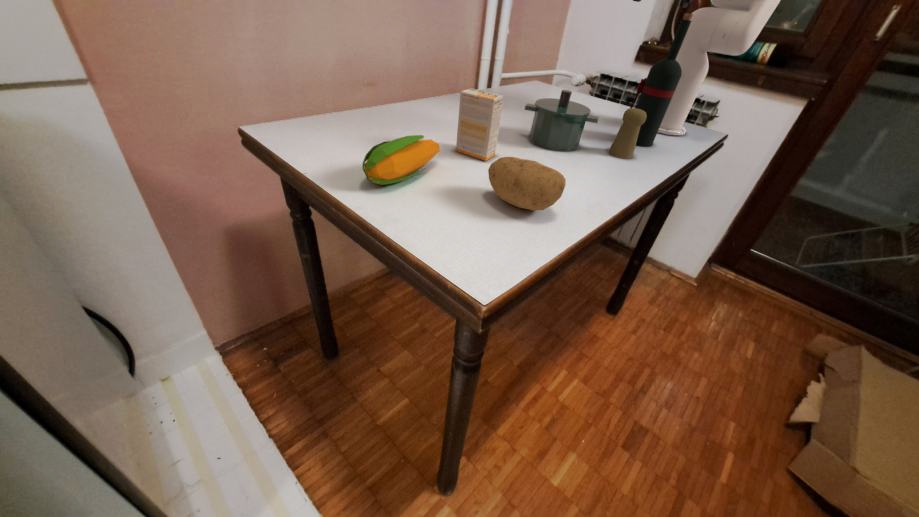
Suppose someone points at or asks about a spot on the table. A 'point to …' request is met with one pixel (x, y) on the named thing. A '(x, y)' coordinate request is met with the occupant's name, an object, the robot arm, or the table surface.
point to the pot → (557, 129)
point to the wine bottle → (660, 87)
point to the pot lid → (563, 106)
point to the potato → (526, 183)
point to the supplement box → (478, 123)
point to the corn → (398, 159)
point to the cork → (628, 134)
